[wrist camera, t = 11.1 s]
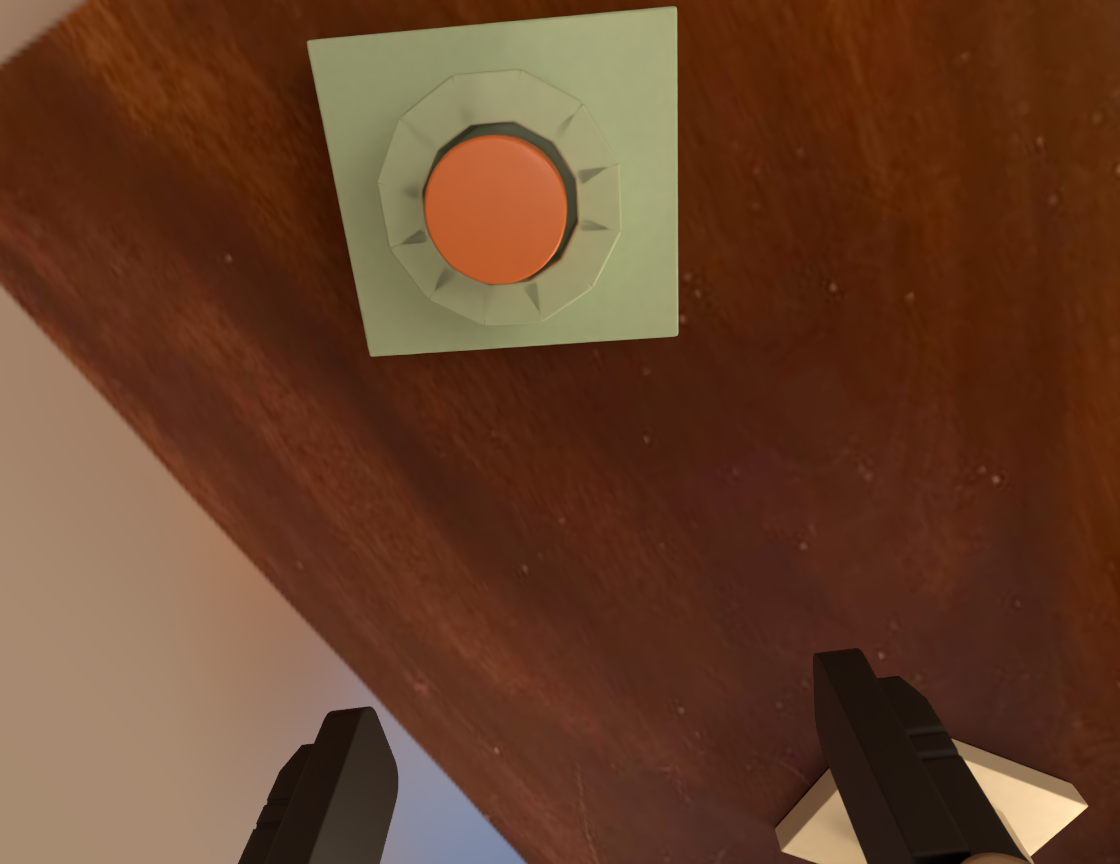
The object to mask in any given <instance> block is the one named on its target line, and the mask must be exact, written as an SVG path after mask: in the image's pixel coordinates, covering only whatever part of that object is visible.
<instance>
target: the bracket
mask: <svg viewBox="0 0 1120 864" xmlns="http://www.w3.org/2000/svg"><path fill="white" fill-rule="evenodd" d="M951 739H952V738H951ZM952 741H953V743H954V744H955V746H956V748H957V749H958V753H959V755H960V756H962V757H963V759H964V761H965V762H966V764H967V765H968V767H969V769H970V770H971V772H972V774H973V775H974V777H975V779H976V780H977V782H978V783H979V785H980V787H981V788H982V790H983V792H984V793H985V795H986V796H987V798H988V800H989V801H990V803H991V805H992V806H993V808H994V810H995V811H996V813H997V814H998V816H999V818H1000V819H1001V821H1002V823H1003V824H1004V826H1005V827H1006V829H1007V831H1008V832H1009V834H1010V836H1011V837H1012V839H1013V841H1014V842H1015V844H1016V845H1017V847H1018V848H1019V849H1020V851H1021V852H1022V854H1023V855H1024V856H1025V857H1026V858H1027V859H1028V860H1029V862H1030V863H1031V864H1034V862H1033V861H1032V859H1031V857H1030V856H1031V855H1032V854H1033V853H1035V852H1036V851H1037V850H1038V849H1039V848H1040V847H1042V846H1043V845H1044V844H1045V843H1046V842H1047V841H1049V840H1050V839H1051V838H1052V837H1053V836H1054V835H1056V834H1057V833H1058V832H1059V831H1060V830H1061V829H1063V828H1064V827H1065V826H1066V825H1067V824H1068V823H1070V822H1071V821H1072V820H1073V819H1074V818H1075V817H1077V816H1078V815H1079V814H1080V813H1081V812H1082V811H1084V810H1085V809H1086V808H1087V807H1088V805H1087V803H1086V802H1085V801H1084V799H1083V798H1082V797H1081V795H1080V794H1079V793H1078V791H1077V790H1076V789H1075V787H1074V786H1073V785H1072V784H1071V783H1068V782H1065V781H1063V780H1060V779H1057V778H1055V777H1052V776H1050V775H1047V774H1044V773H1042V772H1039V771H1036V770H1034V769H1031V768H1028V767H1026V766H1023V765H1020V764H1018V763H1015V762H1013V761H1010V760H1007V759H1005V758H1002V757H999V756H997V755H994V754H991V753H989V752H986V751H983V750H981V749H978V748H976V747H973V746H970V745H968V744H965V743H962V742H960V741H957V740H954V739H952ZM775 831H776V834H777V838H778V842H779V845H780V849H781V851H782V852H785V853H788V854H791V855H794V856H797V857H800V858H803V859H806V860H809V861H812V862H815V863H818V864H867V862H866V859H865V857H864V854H863V852H862V849H861V847H860V844H859V842H858V839H857V837H856V834H855V832H854V829H853V827H852V824H851V822H850V819H849V816H848V814H847V811H846V809H845V806H844V804H843V801H842V799H841V796H840V794H839V791H838V789H837V786H836V784H835V781H834V779H833V776H832V774H831V771H830V769H828V770H827V771H826V772H825V773H824V774H823V775H822V777H821V778H820V779H819V780H818V781H817V782H816V783H815V784H814V786H813V787H812V788H811V789H810V790H809V791H808V792H807V793H806V794H805V796H804V797H803V798H802V799H801V800H800V801H799V802H798V803H797V805H796V806H795V807H794V808H793V809H792V810H791V811H790V812H789V814H788V815H787V816H786V817H785V818H784V819H783V820H782V821H781V823H780V824H779V825H778V826H777V827H776V828H775Z"/></svg>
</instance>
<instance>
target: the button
mask: <svg viewBox="0 0 1120 864" xmlns="http://www.w3.org/2000/svg"><path fill="white" fill-rule="evenodd" d="M424 213H425V221H426V225H427V229H428V232H429V235H430V238H431V240H432V242H433V244H434V246H435V247H436V249H437V250H438V252H439V253H440V255H441V256H442V257H443V258H444V259H445V261H446V262H447V263H448V264H450V265H451V266H452V267H453V268H454V269H456V270H457V271H458V272H460V273H461V274H463V275H465V276H467V277H469V278H471V279H474V280H476V281H480V282H484V283H490V284H507V283H513V282H517V281H520V280H523V279H525V278H527V277H529V276H531V275H533V274H534V273H536V272H537V271H539V270H540V269H541V268H542V267H544V266H545V265H546V263H547V262H548V261H549V260H550V259H551V258H552V256H553V255H554V254H555V252H556V250H557V248H558V247H559V245H560V242H561V240H562V237H563V234H564V230H565V225H566V216H567V196H566V190H565V186H564V182H563V180H562V177H561V175H560V173H559V171H558V169H557V168H556V166H555V164H554V163H553V162H552V160H551V159H550V158H549V157H548V156H547V155H546V154H545V153H544V152H543V151H542V150H541V149H540V148H538V147H537V146H536V145H534V144H532V143H531V142H529V141H527V140H524V139H522V138H519V137H516V136H512V135H505V134H493V135H485V136H479V137H475V138H472V139H468V140H466V141H464V142H462V143H460V144H458V145H457V146H455V147H454V148H452V149H451V150H450V151H449V152H448V153H446V154H445V155H444V156H443V157H442V159H441V160H440V161H439V162H438V164H437V165H436V167H435V168H434V170H433V172H432V174H431V176H430V178H429V181H428V184H427V188H426V193H425V199H424Z"/></svg>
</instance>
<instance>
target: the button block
mask: <svg viewBox="0 0 1120 864" xmlns="http://www.w3.org/2000/svg"><path fill="white" fill-rule="evenodd" d="M307 48H308V53H309V58H310V63H311V68H312V73H313V77H314V82H315V87H316V92H317V97H318V102H319V107H320V112H321V117H322V122H323V127H324V132H325V137H326V142H327V147H328V152H329V157H330V162H331V166H332V171H333V176H334V181H335V186H336V191H337V196H338V201H339V206H340V211H341V216H342V221H343V226H344V231H345V236H346V241H347V246H348V251H349V255H350V260H351V265H352V270H353V275H354V280H355V285H356V290H357V295H358V300H359V305H360V310H361V315H362V320H363V325H364V330H365V335H366V340H367V345H368V349H369V354H370V356H372V357H374V356H389V355H404V354H419V353H434V352H449V351H464V350H479V349H494V348H509V347H524V346H538V345H553V344H568V343H583V342H598V341H613V340H628V339H643V338H658V337H673V336H677V335H678V141H677V9H676V7H674V6H671V7H660V8H649V9H638V10H628V11H617V12H606V13H595V14H584V15H574V16H563V17H552V18H541V19H531V20H520V21H509V22H498V23H487V24H477V25H466V26H455V27H444V28H434V29H423V30H412V31H401V32H390V33H380V34H369V35H358V36H347V37H337V38H326V39H315V40H308V41H307ZM493 134H505V135H512V136H516V137H519V138H522V139H524V140H527V141H529V142H531V143H532V144H534V145H536V146H537V147H538V148H540V149H541V150H542V151H543V152H544V153H545V154H546V155H547V156H548V157H549V158H550V159H551V160H552V162H553V163H554V164H555V166H556V168H557V169H558V171H559V173H560V175H561V177H562V180H563V182H564V186H565V190H566V196H567V216H566V225H565V230H564V234H563V237H562V240H561V242H560V245H559V247H558V248H557V250H556V252H555V254H554V255H553V256H552V258H551V259H550V260H549V261H548V262H547V263H546V265H545V266H544V267H542V268H541V269H540V270H539V271H537V272H536V273H534V274H533V275H531V276H529V277H527V278H525V279H523V280H520V281H517V282H513V283H507V284H490V283H484V282H480V281H476V280H474V279H471V278H469V277H467V276H465V275H463V274H461V273H460V272H458V271H457V270H456V269H454V268H453V267H452V266H451V265H450V264H448V263H447V262H446V261H445V259H444V258H443V257H442V256H441V255H440V253H439V252H438V250H437V249H436V247H435V246H434V244H433V242H432V240H431V238H430V235H429V232H428V229H427V225H426V221H425V213H424V199H425V193H426V188H427V184H428V181H429V178H430V176H431V174H432V172H433V170H434V168H435V167H436V165H437V164H438V162H439V161H440V160H441V159H442V157H443V156H444V155H445V154H446V153H448V152H449V151H450V150H451V149H452V148H454V147H455V146H457V145H458V144H460V143H462V142H464V141H466V140H468V139H472V138H475V137H479V136H485V135H493Z"/></svg>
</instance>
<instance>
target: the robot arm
mask: <svg viewBox="0 0 1120 864" xmlns="http://www.w3.org/2000/svg"><path fill="white" fill-rule="evenodd" d="M813 675H814V704H815V721H816V727H817V732H818V736H819V740H820V744H821V747H822V750H823V753H824V756H825V758H826V761H827V763H828V766H829V769H830V771H831V774H832V776H833V779H834V781H835V784H836V786H837V789H838V791H839V794H840V796H841V799H842V801H843V804H844V806H845V809H846V811H847V814H848V816H849V819H850V822H851V824H852V827H853V829H854V832H855V834H856V837H857V839H858V842H859V844H860V847H861V849H862V852H863V854H864V857H865V859H866V862H867V864H1031V863H1030V862H1029V860H1028V859H1027V858H1026V857H1025V856H1024V855H1023V854H1022V852H1021V851H1020V849H1019V848H1018V847H1017V845H1016V844H1015V842H1014V841H1013V839H1012V837H1011V836H1010V834H1009V832H1008V831H1007V829H1006V827H1005V826H1004V824H1003V823H1002V821H1001V819H1000V818H999V816H998V814H997V813H996V811H995V810H994V808H993V806H992V805H991V803H990V801H989V800H988V798H987V796H986V795H985V793H984V792H983V790H982V788H981V787H980V785H979V783H978V782H977V780H976V779H975V777H974V775H973V774H972V772H971V770H970V769H969V767H968V765H967V764H966V762H965V761H964V759H963V757H962V756H960V755H959V753H958V749H957V748H956V746H955V744H954V743H953V741H952V739H951V738H950V736H949V734H948V733H947V732H945V730H944V726H943V725H942V723H941V721H940V720H939V718H938V717H937V715H936V713H935V712H934V710H933V708H932V707H931V705H930V703H929V702H928V700H927V699H926V698H925V697H924V696H923V695H922V694H920V693H919V692H918V691H917V690H916V689H914V688H913V687H912V686H911V685H909V684H908V683H907V682H906V681H905V680H903V679H902V678H901V677H900V676H895V677H886V678H878V679H877V678H876V676H875V674H874V672H873V670H872V668H871V667H870V665H869V663H868V661H867V659H866V657H865V656H864V654H863V652H862V651H861V650H860V649H858V648H854V649H846V650H838V651H830V652H821V653H815V654H814V656H813ZM397 793H398V770H397V765H396V762H395V759H394V756H393V754H392V751H391V749H390V746H389V744H388V741H387V739H386V736H385V734H384V731H383V729H382V726H381V724H380V721H379V719H378V716H377V714H376V712H375V710H374V709H373V708H372V707H361V708H353V709H345V710H336V711H331V712H329V713H328V714H327V716H326V717H325V719H324V721H323V724H322V726H321V728H320V731H319V733H318V735H317V738H316V740H315V743H314V744H306V745H302V746H301V747H300V748H299V749H298V751H297V752H296V753H295V754H294V755H293V756H292V757H291V759H290V760H289V761H288V762H287V763H286V764H285V766H284V767H283V768H282V769H281V770H280V772H279V774H278V776H277V779H276V781H275V783H274V785H273V788H272V790H271V792H270V794H269V796H268V799H267V805H265V806H264V807H263V810H262V812H261V814H260V816H259V819H258V821H257V823H256V824H257V827H256V829H253V832H252V834H251V836H250V838H249V840H248V843H247V845H246V847H245V849H244V851H243V854H242V856H241V858H240V860H239V863H238V864H380V860H381V857H382V853H383V849H384V845H385V841H386V838H387V834H388V830H389V826H390V822H391V819H392V814H393V811H394V807H395V803H396V799H397Z"/></svg>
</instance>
